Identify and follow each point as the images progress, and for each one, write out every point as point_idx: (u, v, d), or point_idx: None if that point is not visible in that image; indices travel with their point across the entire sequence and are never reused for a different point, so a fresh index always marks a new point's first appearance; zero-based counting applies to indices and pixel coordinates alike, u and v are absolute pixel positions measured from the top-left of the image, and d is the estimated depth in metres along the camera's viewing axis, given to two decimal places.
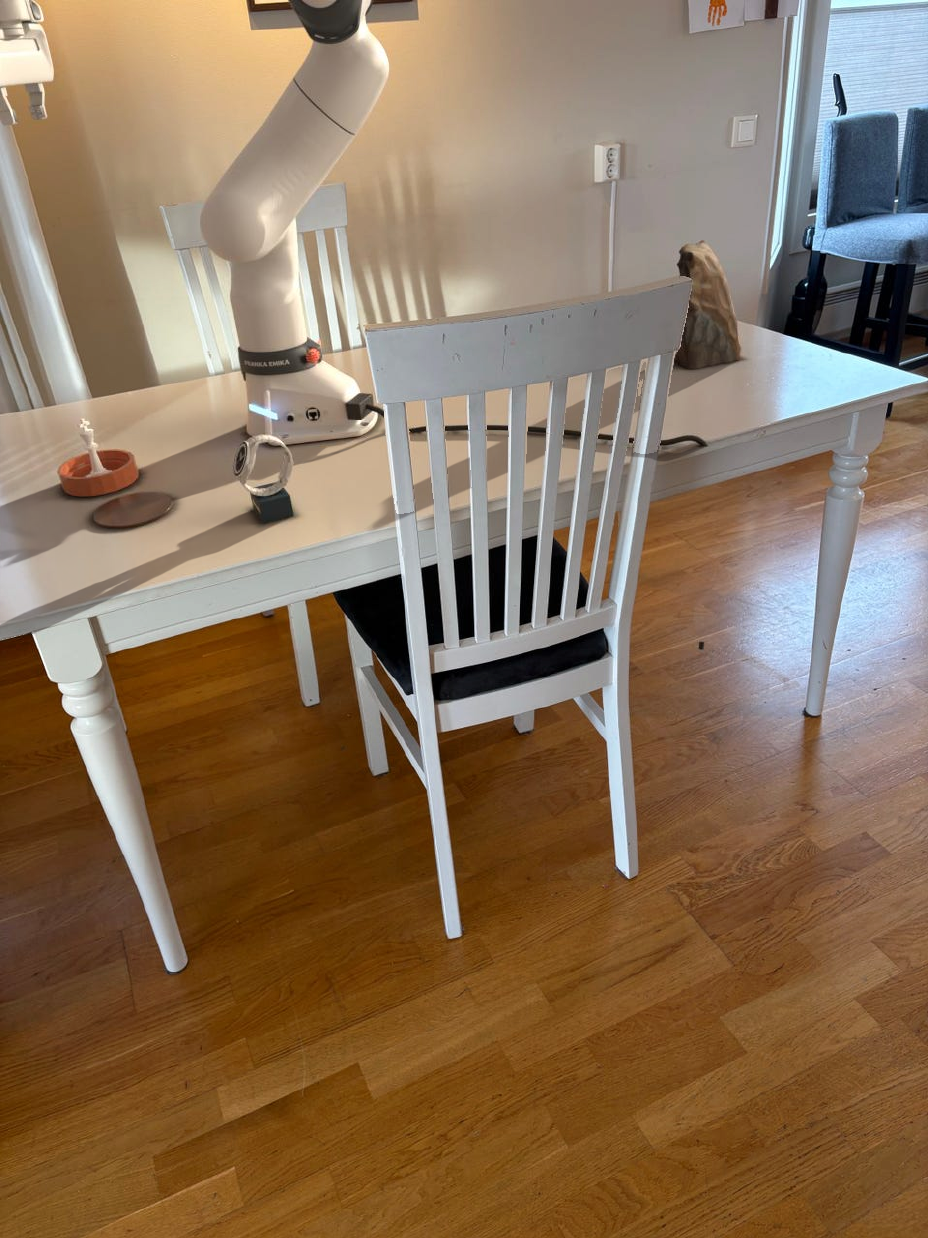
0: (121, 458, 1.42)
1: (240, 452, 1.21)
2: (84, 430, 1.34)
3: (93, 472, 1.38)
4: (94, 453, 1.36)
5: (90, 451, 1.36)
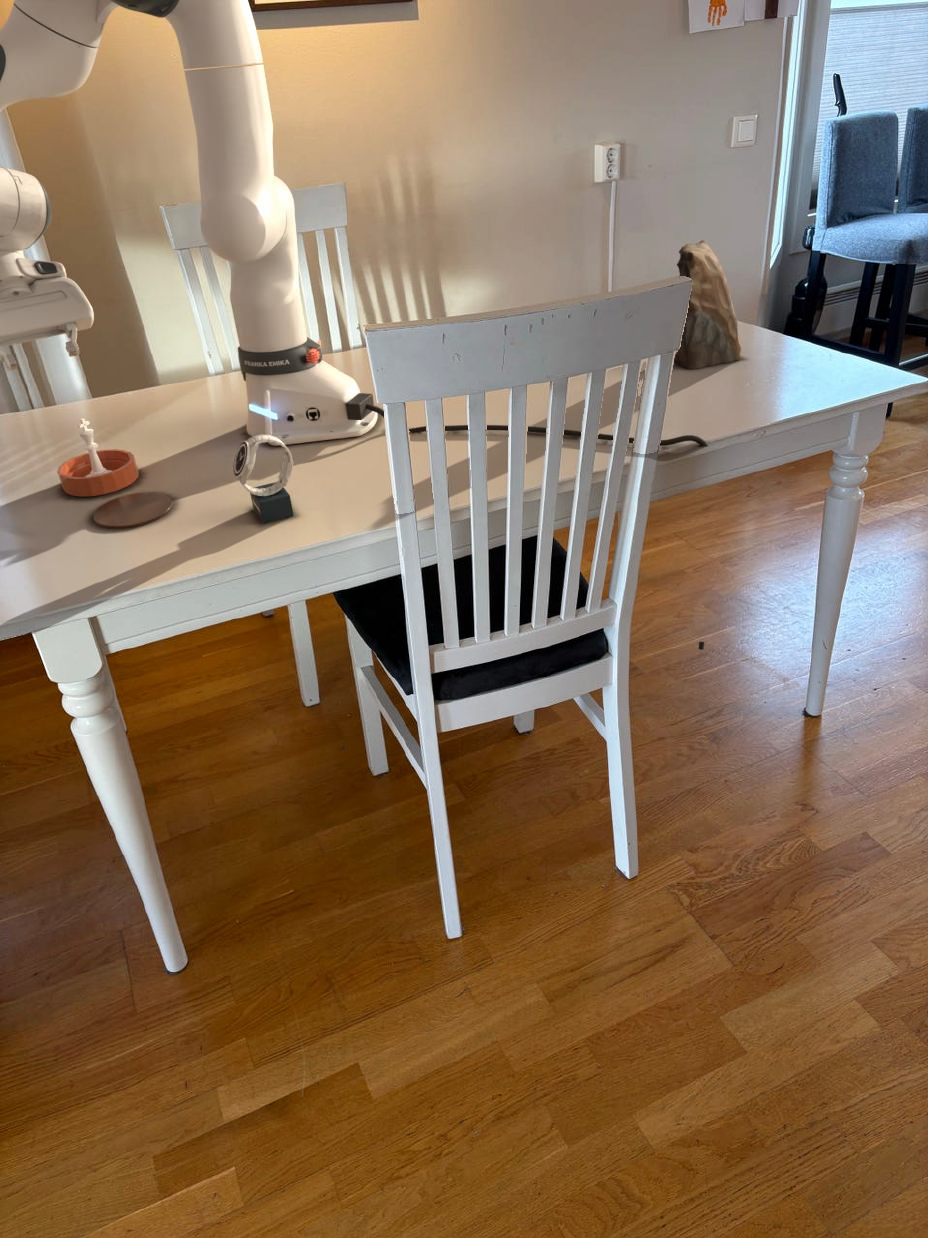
0: (121, 458, 1.42)
1: (240, 452, 1.21)
2: (84, 430, 1.34)
3: (93, 472, 1.38)
4: (94, 453, 1.36)
5: (90, 451, 1.36)
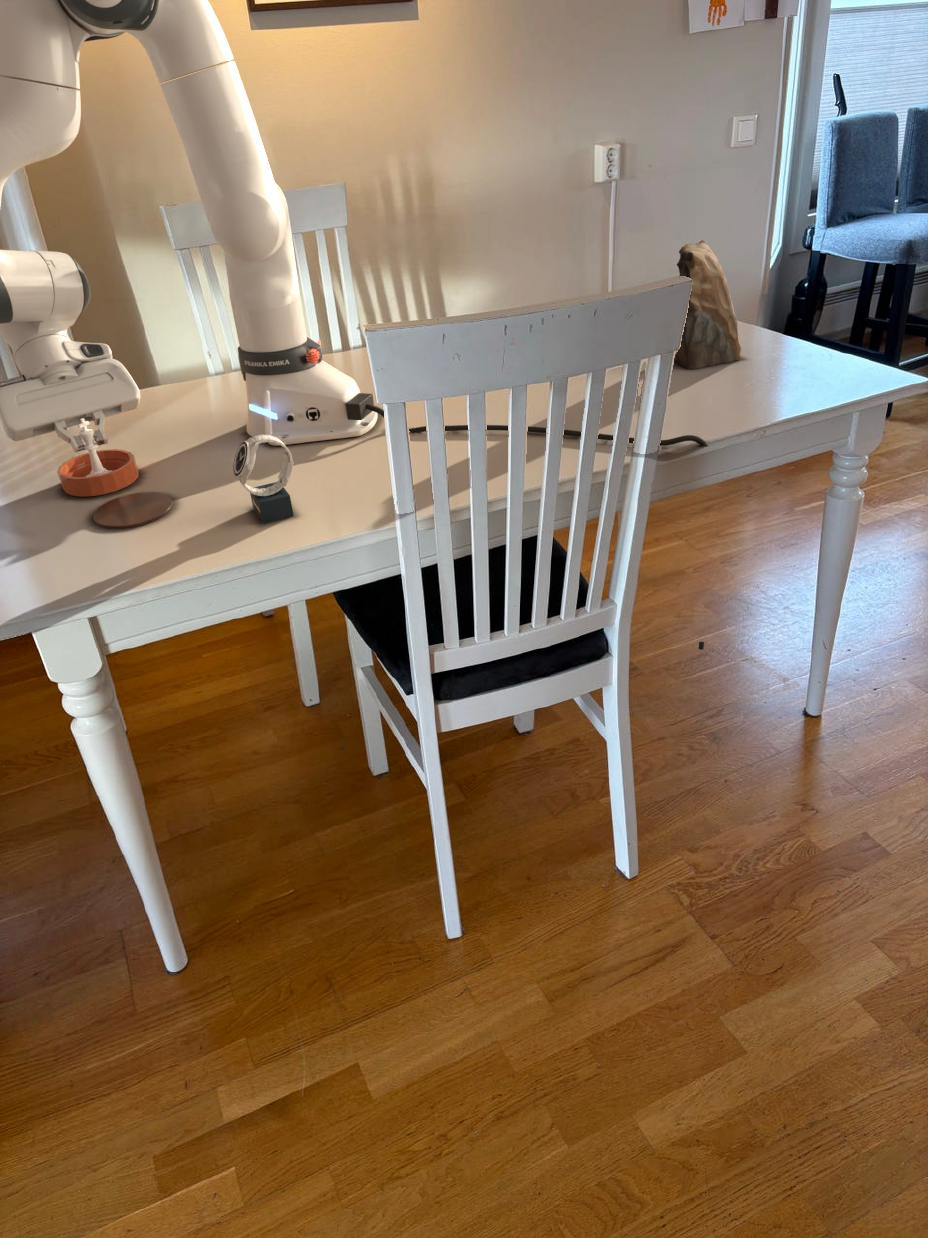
0: (121, 458, 1.42)
1: (240, 452, 1.21)
2: (84, 430, 1.34)
3: (93, 472, 1.38)
4: (94, 453, 1.36)
5: (90, 451, 1.36)
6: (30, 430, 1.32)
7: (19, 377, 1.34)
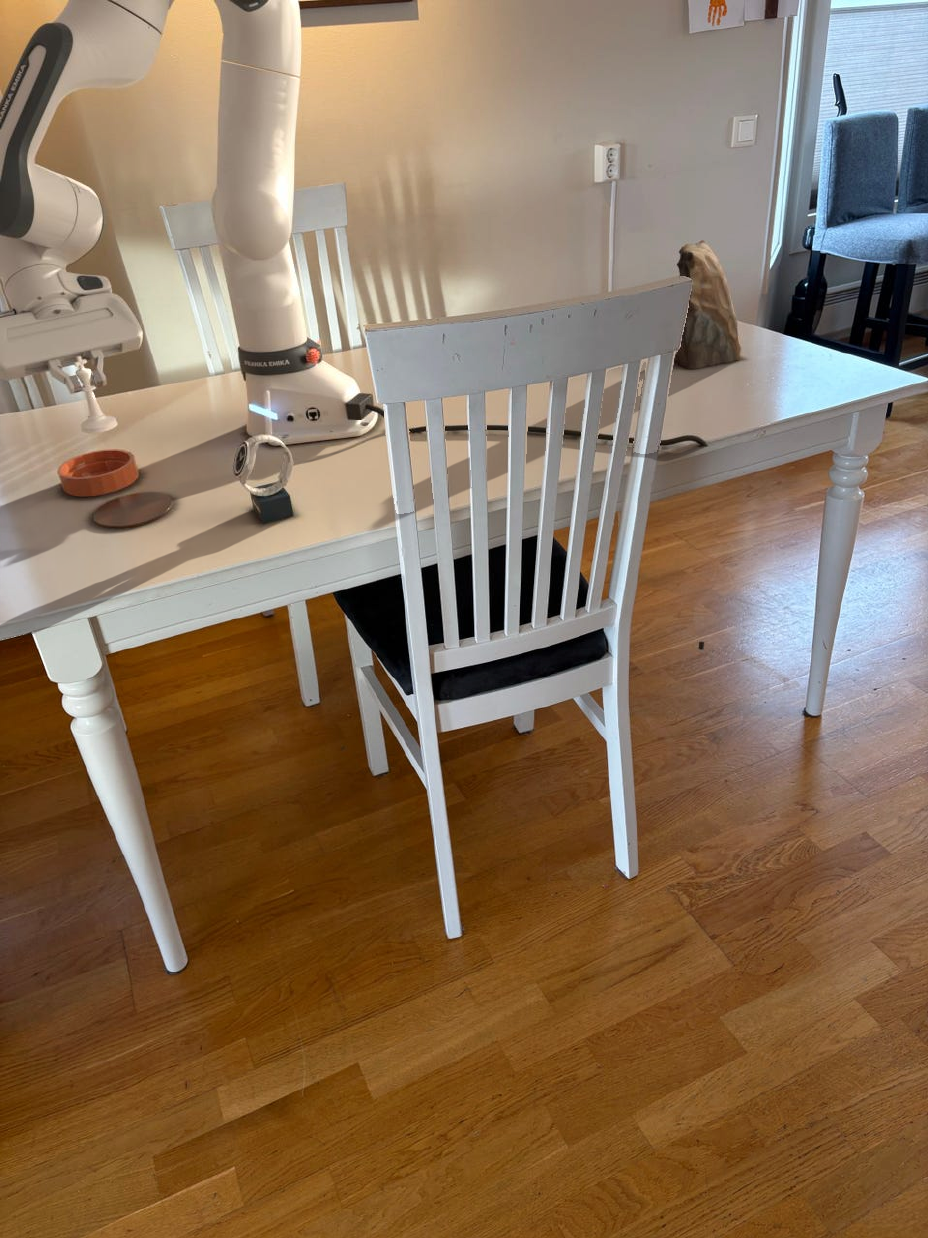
0: (121, 458, 1.42)
1: (240, 452, 1.21)
2: (81, 369, 1.22)
3: (91, 417, 1.25)
4: (92, 395, 1.24)
5: (87, 393, 1.24)
6: (21, 368, 1.20)
7: (9, 311, 1.22)
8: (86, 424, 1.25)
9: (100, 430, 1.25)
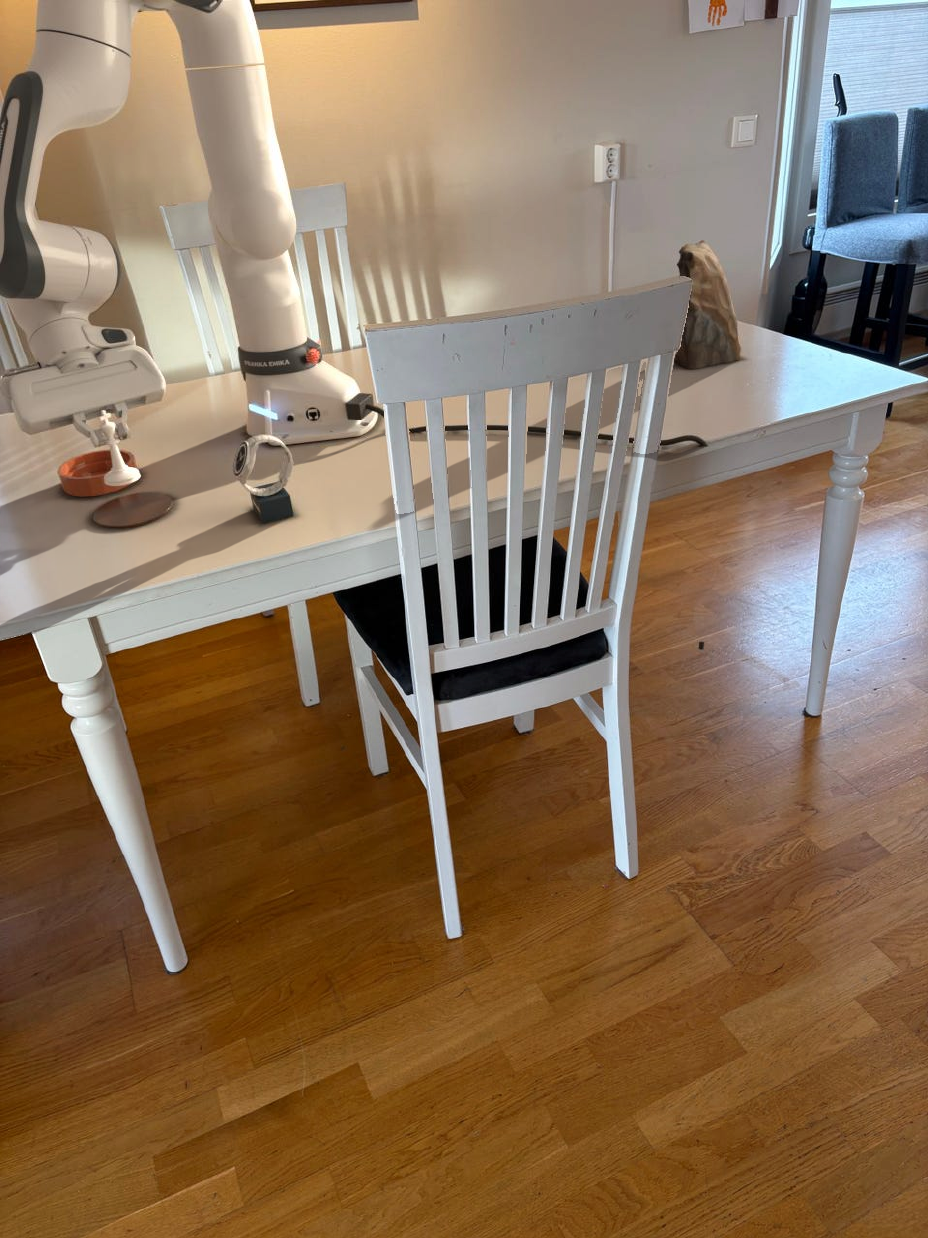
0: None
1: (240, 452, 1.21)
2: (105, 423, 1.22)
3: (114, 469, 1.25)
4: (115, 448, 1.24)
5: (111, 446, 1.24)
6: (46, 423, 1.20)
7: (34, 364, 1.22)
8: (109, 477, 1.25)
9: (123, 482, 1.25)
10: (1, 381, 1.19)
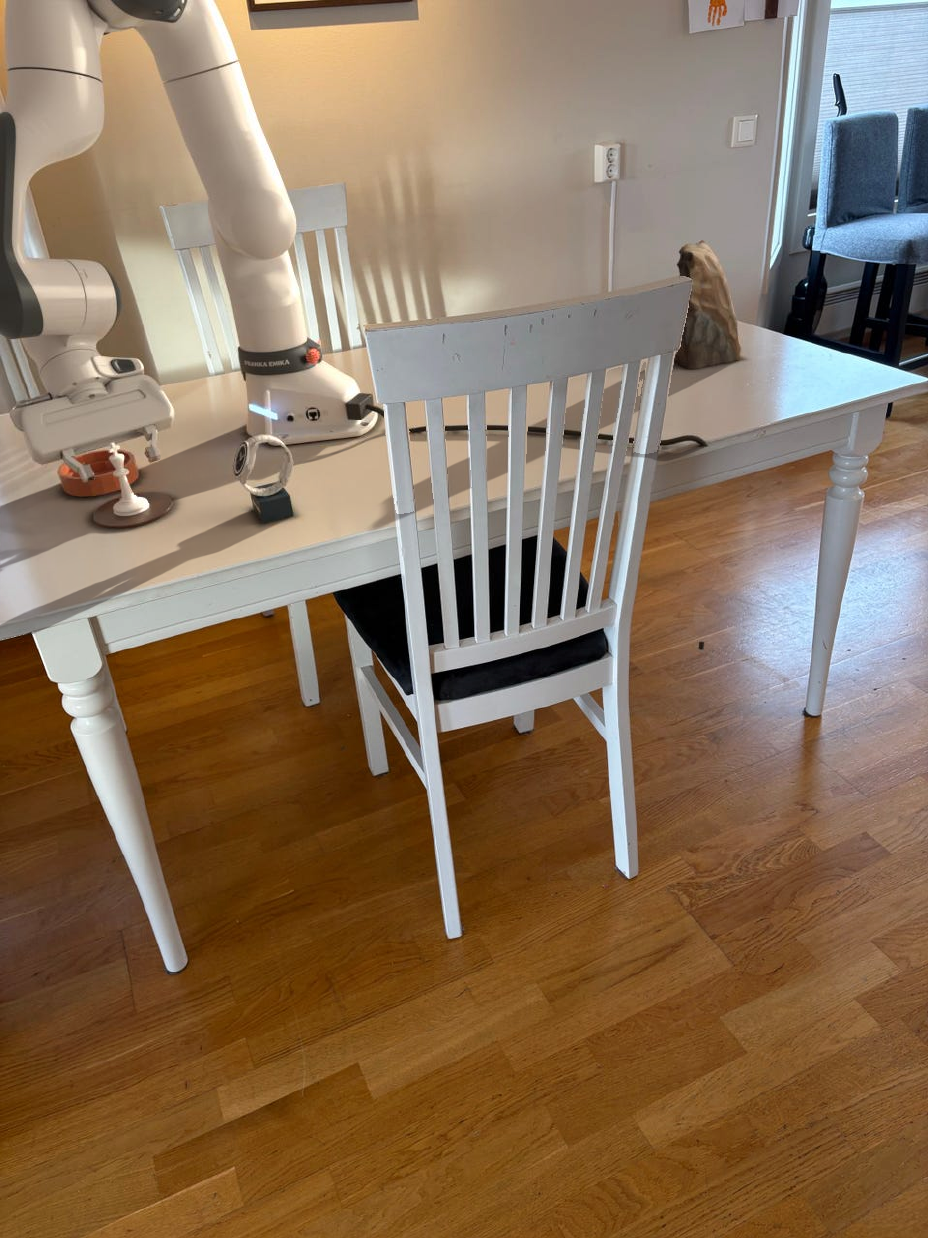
0: None
1: (240, 452, 1.21)
2: (114, 455, 1.25)
3: (123, 500, 1.28)
4: (124, 479, 1.27)
5: (120, 477, 1.26)
6: (57, 453, 1.22)
7: (45, 395, 1.24)
8: (119, 507, 1.28)
9: (132, 513, 1.27)
10: (13, 413, 1.22)
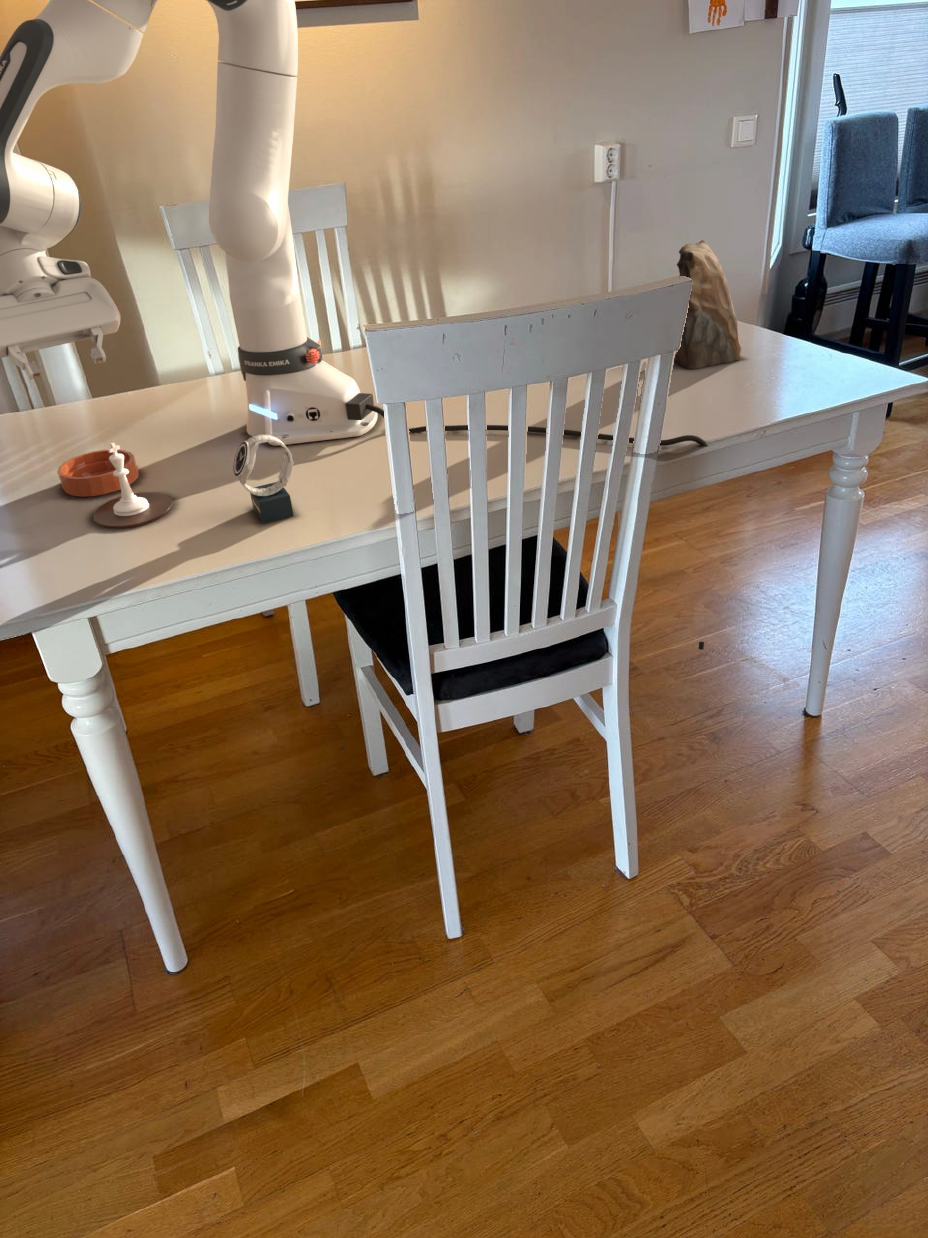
0: None
1: (240, 452, 1.21)
2: (114, 455, 1.25)
3: (123, 500, 1.28)
4: (124, 479, 1.27)
5: (120, 477, 1.26)
6: (3, 349, 1.25)
7: None
8: (119, 507, 1.28)
9: (132, 513, 1.27)
10: None
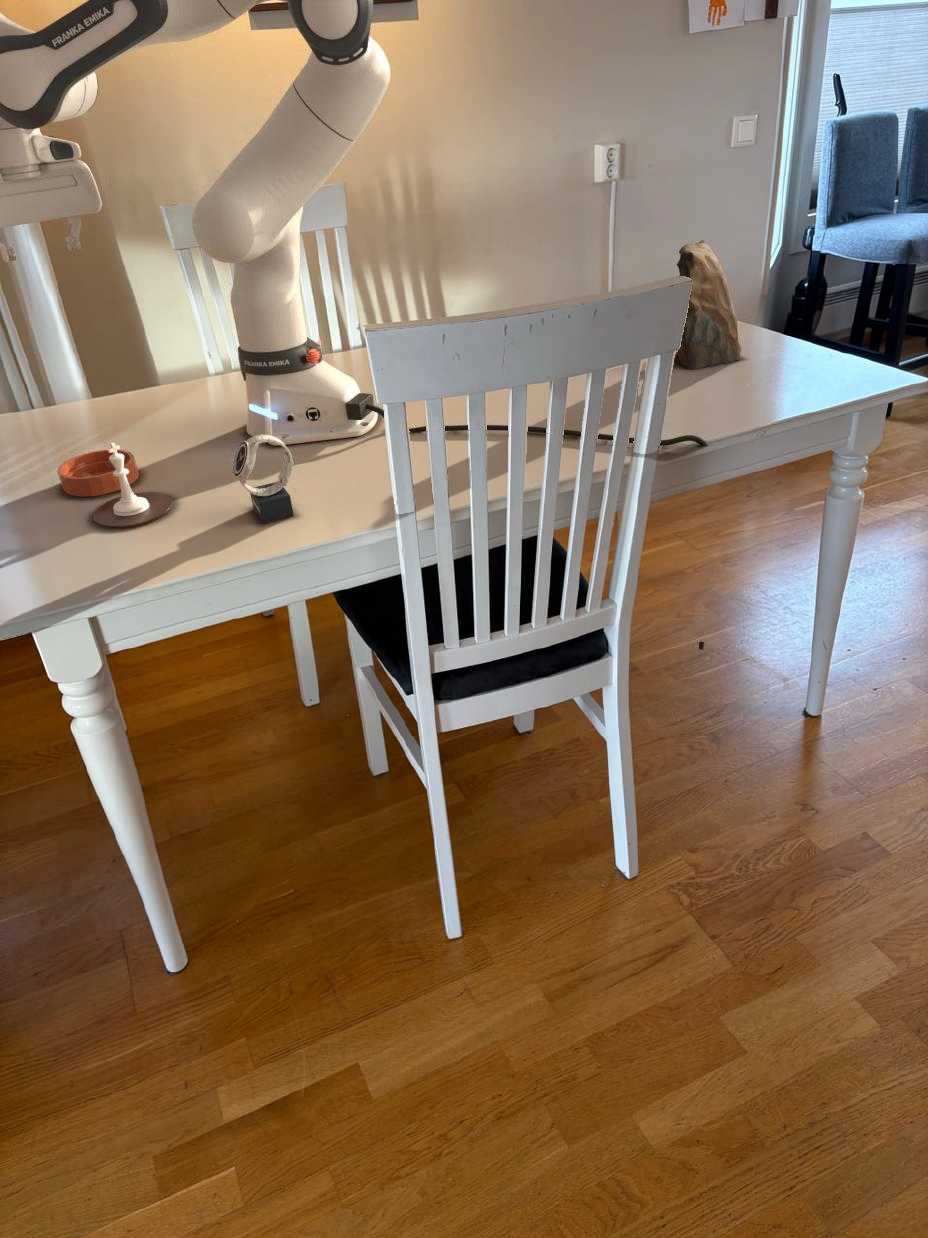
0: None
1: (240, 452, 1.21)
2: (114, 455, 1.25)
3: (123, 500, 1.28)
4: (124, 479, 1.27)
5: (120, 477, 1.26)
6: None
7: None
8: (119, 507, 1.28)
9: (132, 513, 1.27)
10: None
